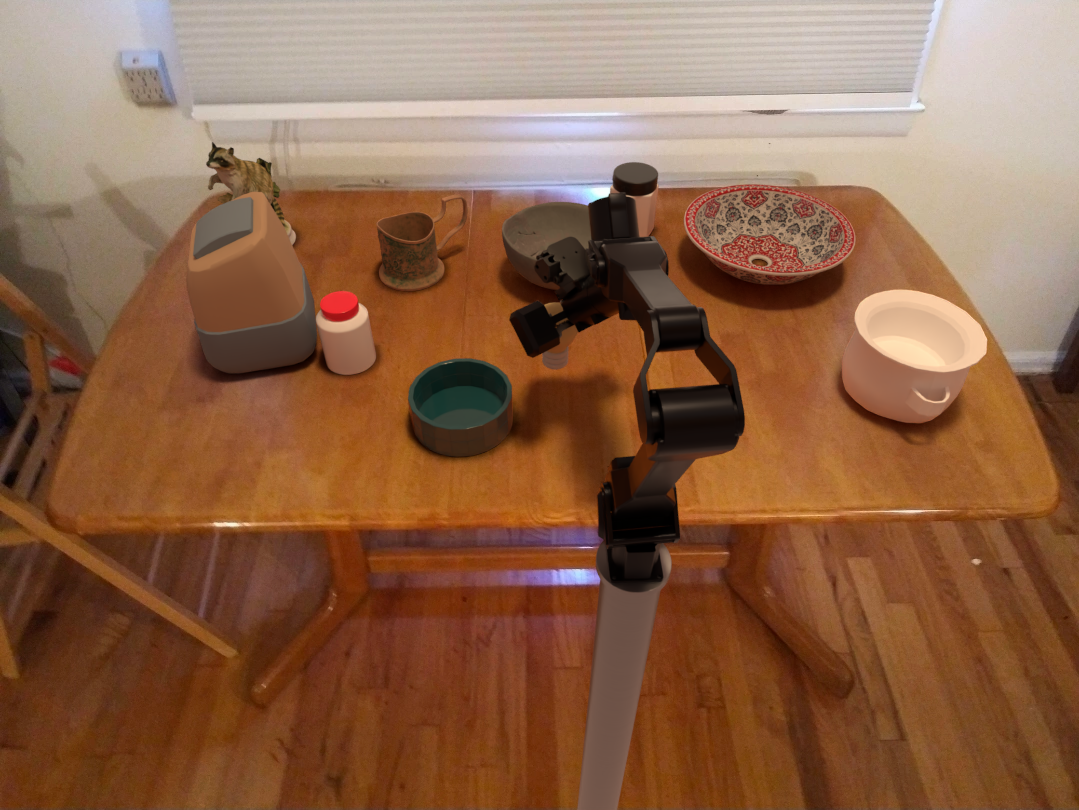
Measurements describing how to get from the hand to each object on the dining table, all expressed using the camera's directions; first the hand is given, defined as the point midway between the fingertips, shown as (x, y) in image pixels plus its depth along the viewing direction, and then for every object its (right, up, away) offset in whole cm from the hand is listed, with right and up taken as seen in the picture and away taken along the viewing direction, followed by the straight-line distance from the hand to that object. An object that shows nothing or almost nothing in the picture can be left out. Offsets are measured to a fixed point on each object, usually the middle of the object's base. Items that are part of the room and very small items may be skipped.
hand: (549, 322), depth 108 cm
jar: (+16, +22, +41) cm, 49 cm away
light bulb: (+1, -6, +4) cm, 7 cm away
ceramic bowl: (+38, +14, +33) cm, 52 cm away
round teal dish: (-12, -14, +4) cm, 19 cm away
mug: (-22, +13, +32) cm, 41 cm away
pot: (+51, -10, +9) cm, 53 cm away
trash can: (-45, -2, +16) cm, 48 cm away
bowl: (+2, +11, +30) cm, 32 cm away
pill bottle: (-31, -4, +14) cm, 34 cm away
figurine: (-53, +19, +38) cm, 68 cm away
